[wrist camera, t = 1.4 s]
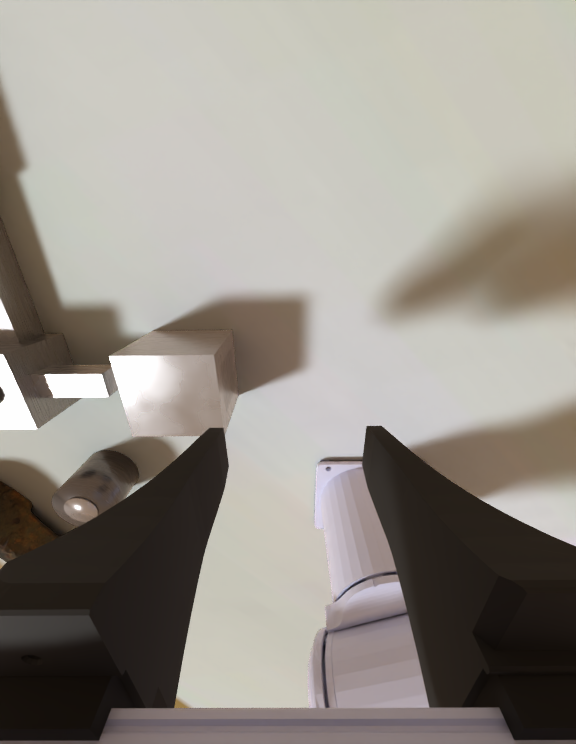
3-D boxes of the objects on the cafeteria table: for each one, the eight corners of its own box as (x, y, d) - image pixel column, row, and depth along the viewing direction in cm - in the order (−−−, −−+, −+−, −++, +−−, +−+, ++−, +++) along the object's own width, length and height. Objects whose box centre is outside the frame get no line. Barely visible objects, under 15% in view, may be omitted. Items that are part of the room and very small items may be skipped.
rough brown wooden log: (131, 577, 31) (106, 629, 27) (102, 586, 32) (73, 638, 27) (1, 454, 24) (-60, 497, 20) (-33, 468, 25) (-100, 513, 20)
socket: (132, 449, 23) (101, 488, 20) (143, 488, 25) (117, 530, 21) (81, 450, 23) (40, 489, 20) (96, 488, 25) (61, 531, 21)
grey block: (232, 329, 19) (213, 355, 14) (238, 394, 21) (224, 435, 17) (153, 330, 19) (108, 356, 15) (167, 395, 21) (132, 436, 17)
